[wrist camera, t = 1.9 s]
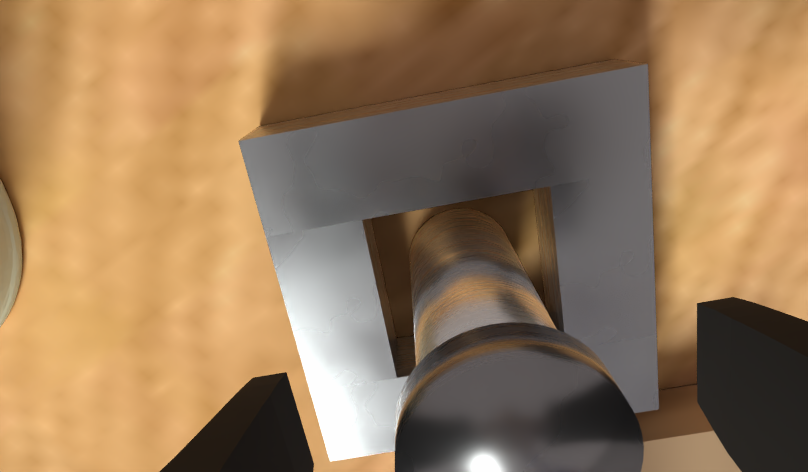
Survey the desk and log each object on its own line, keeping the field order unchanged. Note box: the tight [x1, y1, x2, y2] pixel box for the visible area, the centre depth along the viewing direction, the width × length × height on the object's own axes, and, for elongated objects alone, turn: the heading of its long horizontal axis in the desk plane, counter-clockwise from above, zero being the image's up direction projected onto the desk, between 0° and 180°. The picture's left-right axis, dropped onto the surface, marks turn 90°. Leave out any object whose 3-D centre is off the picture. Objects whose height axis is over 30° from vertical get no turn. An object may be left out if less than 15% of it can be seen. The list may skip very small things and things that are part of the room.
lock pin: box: [395, 209, 644, 472], centre depth 12 cm, size 4×4×8 cm
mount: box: [239, 59, 659, 461], centre depth 15 cm, size 9×9×2 cm
